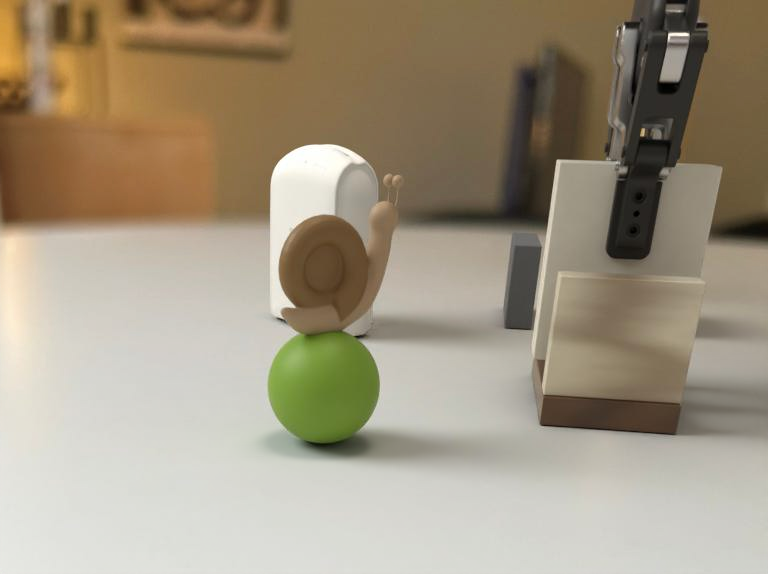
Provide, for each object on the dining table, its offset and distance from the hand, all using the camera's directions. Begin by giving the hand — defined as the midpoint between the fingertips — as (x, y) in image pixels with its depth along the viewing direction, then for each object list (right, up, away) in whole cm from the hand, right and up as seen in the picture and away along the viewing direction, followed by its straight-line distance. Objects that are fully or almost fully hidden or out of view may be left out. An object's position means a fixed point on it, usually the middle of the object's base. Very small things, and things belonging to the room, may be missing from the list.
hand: (622, 252), depth 54 cm
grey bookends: (+5, +5, +26) cm, 27 cm away
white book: (0, -5, +3) cm, 6 cm away
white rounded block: (-16, +3, +22) cm, 27 cm away
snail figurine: (-16, -11, -4) cm, 20 cm away
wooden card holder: (0, -7, +4) cm, 8 cm away
